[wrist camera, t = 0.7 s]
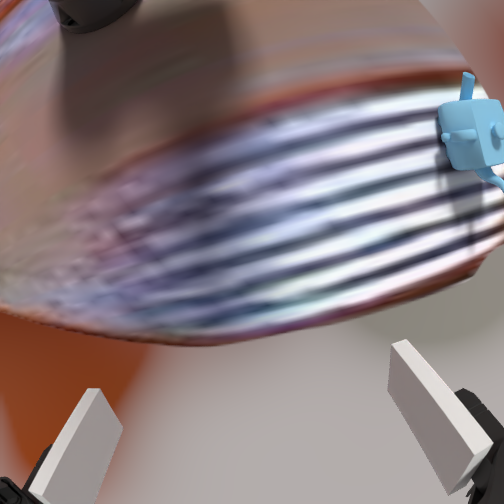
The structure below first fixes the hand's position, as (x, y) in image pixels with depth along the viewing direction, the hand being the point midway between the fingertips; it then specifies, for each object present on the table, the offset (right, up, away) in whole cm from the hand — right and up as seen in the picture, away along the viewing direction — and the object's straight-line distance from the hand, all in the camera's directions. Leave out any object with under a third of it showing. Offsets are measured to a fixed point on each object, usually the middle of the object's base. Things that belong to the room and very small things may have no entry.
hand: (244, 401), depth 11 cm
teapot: (+32, +24, +23) cm, 47 cm away
